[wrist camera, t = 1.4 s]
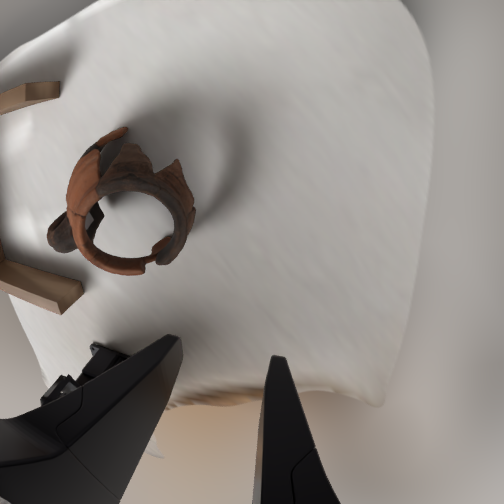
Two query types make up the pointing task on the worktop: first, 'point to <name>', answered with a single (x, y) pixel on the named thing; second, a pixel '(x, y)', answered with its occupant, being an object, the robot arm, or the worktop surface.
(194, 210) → the pottery mug
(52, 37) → the worktop surface
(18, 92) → the walnut bay
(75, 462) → the robot arm
